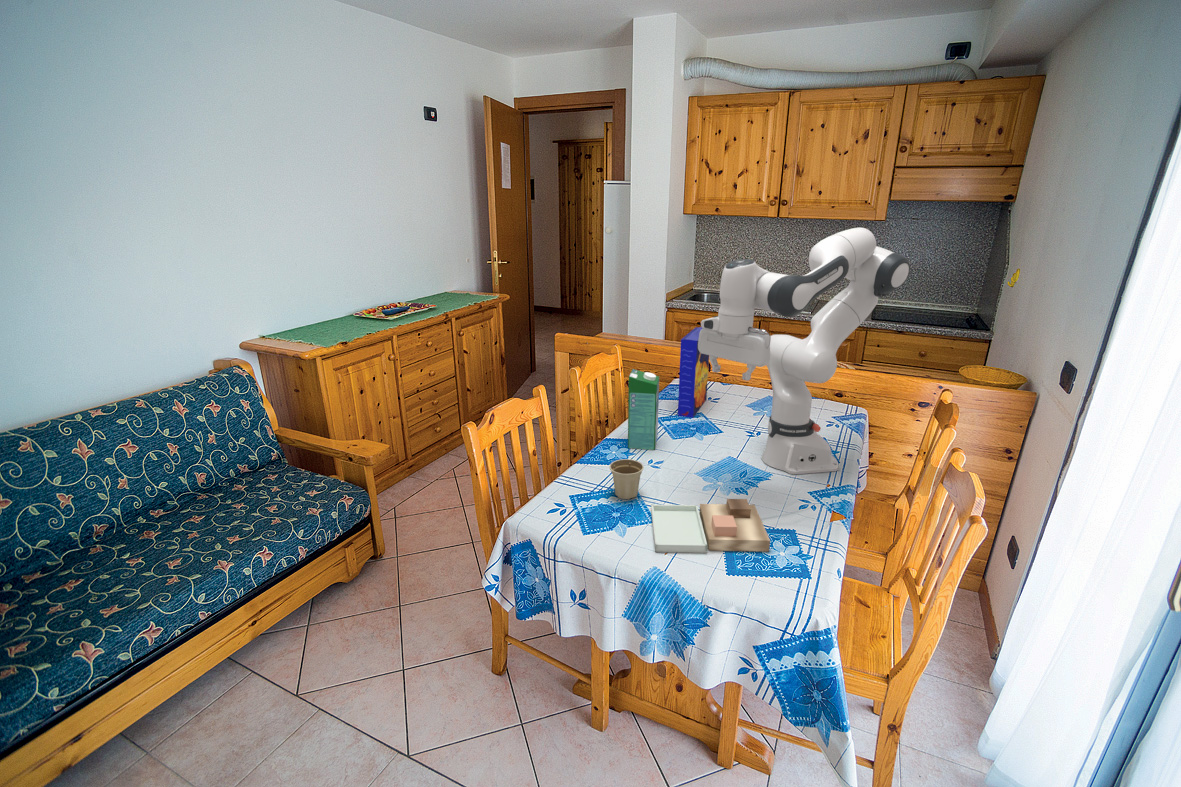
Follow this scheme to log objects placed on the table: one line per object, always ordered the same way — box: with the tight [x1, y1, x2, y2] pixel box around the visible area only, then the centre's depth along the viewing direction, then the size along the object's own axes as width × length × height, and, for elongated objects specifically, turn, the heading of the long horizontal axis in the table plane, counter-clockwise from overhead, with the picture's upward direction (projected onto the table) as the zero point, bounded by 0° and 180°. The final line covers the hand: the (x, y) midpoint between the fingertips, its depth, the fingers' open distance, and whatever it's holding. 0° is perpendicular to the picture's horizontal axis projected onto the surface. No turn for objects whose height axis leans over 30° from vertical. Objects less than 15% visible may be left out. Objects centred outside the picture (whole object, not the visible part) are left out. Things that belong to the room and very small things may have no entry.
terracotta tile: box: [711, 515, 737, 536], centre depth 133 cm, size 5×5×2 cm
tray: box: [650, 504, 708, 554], centre depth 138 cm, size 12×18×2 cm, turn 177°
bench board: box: [699, 503, 771, 553], centre depth 137 cm, size 14×16×3 cm
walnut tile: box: [726, 498, 751, 518], centre depth 140 cm, size 5×5×2 cm
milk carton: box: [627, 368, 660, 451], centre depth 184 cm, size 9×9×25 cm
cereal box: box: [677, 326, 710, 419], centre depth 215 cm, size 22×6×30 cm, turn 156°
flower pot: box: [609, 458, 645, 500], centre depth 155 cm, size 9×9×9 cm
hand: (730, 375), depth 148 cm, fingers open, 8 cm apart
